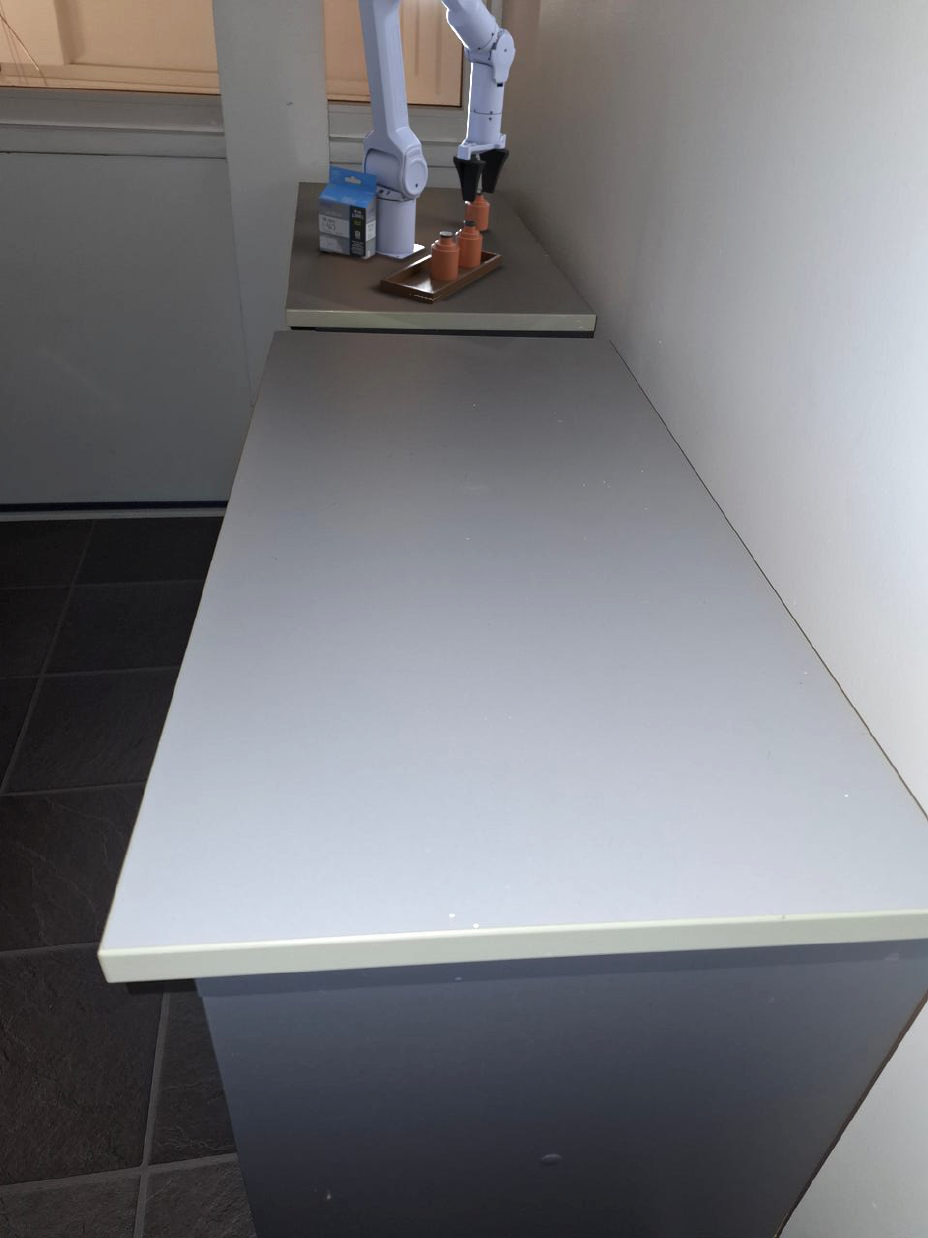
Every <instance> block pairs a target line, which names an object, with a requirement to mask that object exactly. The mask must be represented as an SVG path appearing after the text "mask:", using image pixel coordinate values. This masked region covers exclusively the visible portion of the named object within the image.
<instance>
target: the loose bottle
mask: <svg viewBox="0 0 928 1238" xmlns="http://www.w3.org/2000/svg"><path fill="white" fill-rule="evenodd" d="M484 196H485V192H484V191H482V189H477V195H476V199H475V202H468V201H465V207H464V219H463V222H464V221H466V220H471V221H475V222H476V227H475V230H478V231H486V230H488V228H489V219H490V218H489V216H490V208H491V207H490V206H491V204H490V203H489V202H488V200H487V199H486V198H484Z"/></svg>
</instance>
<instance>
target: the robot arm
mask: <svg viewBox="0 0 928 1238" xmlns="http://www.w3.org/2000/svg"><path fill="white" fill-rule="evenodd" d="M357 2H358V10H359V18H360V26H361V34H362V43H363V50H364V60H365V68H366V74H367V75H366V76H367V77H366V78H367V84H368V93H369V101H370V110H371V116H372V118H371V119H372V125H373V129H372V130H370V131H371V132H370V131H369V132H370V133H369V132H368V133H369V134H368V133H367V134H368V135H367V134H366V135H367V136H366V135H365V136H366V137H364V139H363V140H362V145H363V156H362V160H361V161H362V162H361V172H363V173H368V174H373V175H377V180H376V241H375V254H379V255H382V256H386V257H389V258H393V259H394V258H395V259H398V260H404V259H405V258H406V257H409V256H411V255H413V254H415V253H417V252H419V251H421V250H424V249H425V246H423V245H419V244H415V241H416V240H415V239H416V238H415V237H416V214H417V212H416V211H417V199H418V198H420V196H421V194H422V192H423V191H424V189H425V187H426V185H427V181H428V177H429V169H428V164H427V161H426V159H425V156H424V155H423V148H422V147H423V146H422V143H421V141H420V140H419V139H418V137H417V136H416V134H415V133H414V131H413V130H412V129H411V127H410V121H409V111H408V101H407V90H406V79H405V78H406V77H405V68H404V67H405V66H404V57H403V45H402V36H401V25H400V24H401V23H400V14H399V12H400V11H399V7H400V5H401V3H402V2H403V0H357ZM440 2H441V3H442V4H443V5H444V6H445V8H447V9H446V20H447V23H448V24H449V26H450V27H451V29H452V30H453V31H454V32H455V34H456V35H457V37H458V38H459V39H460V40H461V42H462V45H463V47H464V55H465V59H466V61H467V62H469V63H470V64H471V71H470V72H471V73H470V84H469V85H470V86H469V100H468V114H467V130H466V137H465V139H464V140H463V142H462V143H461V144H458V147H457V154H454V155H453V156H452V162H453V165H454V167H455V169H456V172H457V175H458V179H459V183H460V191H461V196H462V201H464V202H466V201H468V202H475V199H476V195H477V190H479V189H478V188H479V182H480V179H481V190H482V191H484V193H487V194H490V195H493V194H494V192H495V190H496V187H497V183H498V181H499V178H500V174H501V171H502V169H503V167H504V165H505V163H506V161H507V159H508V157H509V156H510V150H509V149H507V148H505V147H506V139H507V134H505V133H501V127H502V116H503V105H504V93H505V84H506V82H507V81H508V78H509V75H510V74H509V73H510V68H511V66H512V64H513V62H514V59H515V56H516V50H517V49H516V48H515V43H514V42H515V41H514V39H513V37H512V35H511V33H510V32H509V31H508V30H507V29H506V28H502V27H499V25H498V23H497V22H496V21H497V19H496V17H495V16H494V15H493V14H491V13H490V11H489V10H488V8H487V7H486V6H485V4H484V2H483V0H440ZM477 156H478V157H479V159H478V157H477Z"/></svg>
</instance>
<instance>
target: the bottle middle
mask: <svg viewBox="0 0 928 1238" xmlns="http://www.w3.org/2000/svg"><path fill="white" fill-rule="evenodd" d="M453 236H454V234H453V233H452V232H451V231H440V232H439V239H438V240H436V241H435V243H433V244H431V247H430V255H431V264H430V277H432V278H433V279H436V280H440V281H452V280H454V279H456V278H457V277H458V262H459V247H458V246H457V245H456V243H455V241H453Z"/></svg>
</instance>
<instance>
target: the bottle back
mask: <svg viewBox="0 0 928 1238" xmlns="http://www.w3.org/2000/svg"><path fill="white" fill-rule="evenodd" d="M475 227H476V222H475V221H471V220H466V221H464V220H463V228H461V229H460V230H459V231H457V232H456V233H455V241H454V242H455V243H456V245H457V246H458V247H459V262H458V266H460V267H464V268H475V267H477V266H479V265H480V262H481V251H482V250H483V239H484V238H483V235H482V234H481V233H480V230H475Z"/></svg>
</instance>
